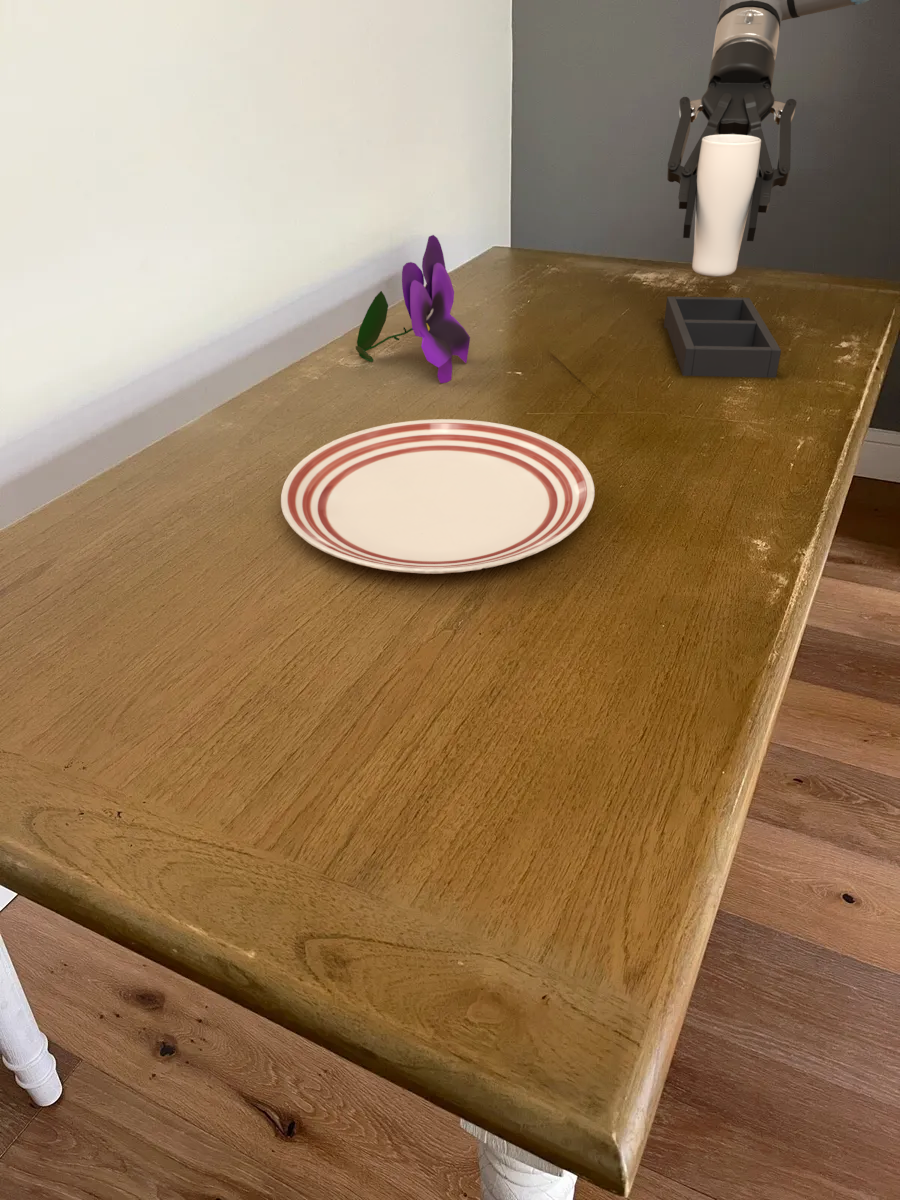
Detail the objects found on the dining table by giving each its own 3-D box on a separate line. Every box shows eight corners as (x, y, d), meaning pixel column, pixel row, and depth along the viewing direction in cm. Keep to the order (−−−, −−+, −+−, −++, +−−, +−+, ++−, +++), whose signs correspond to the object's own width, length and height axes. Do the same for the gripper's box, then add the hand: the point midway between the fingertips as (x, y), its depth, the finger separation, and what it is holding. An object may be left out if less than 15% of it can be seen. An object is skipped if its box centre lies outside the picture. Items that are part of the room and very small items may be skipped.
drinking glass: (680, 276, 116) (696, 141, 108) (691, 262, 122) (707, 132, 113) (737, 281, 114) (757, 144, 106) (745, 267, 119) (765, 135, 111)
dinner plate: (544, 627, 71) (546, 589, 69) (224, 563, 79) (218, 528, 77) (621, 471, 92) (624, 439, 91) (363, 433, 100) (361, 403, 99)
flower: (362, 425, 115) (456, 385, 108) (299, 309, 109) (393, 260, 102) (406, 382, 126) (493, 344, 119) (350, 276, 121) (438, 229, 114)
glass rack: (743, 332, 126) (749, 297, 124) (773, 389, 110) (781, 350, 107) (663, 331, 127) (667, 296, 124) (681, 387, 110) (686, 348, 108)
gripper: (661, 37, 115) (634, 210, 111) (834, 38, 110) (811, 218, 106) (660, 82, 122) (634, 246, 118) (822, 85, 117) (801, 255, 113)
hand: (718, 232), depth 112 cm, fingers closed on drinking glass, 7 cm apart
